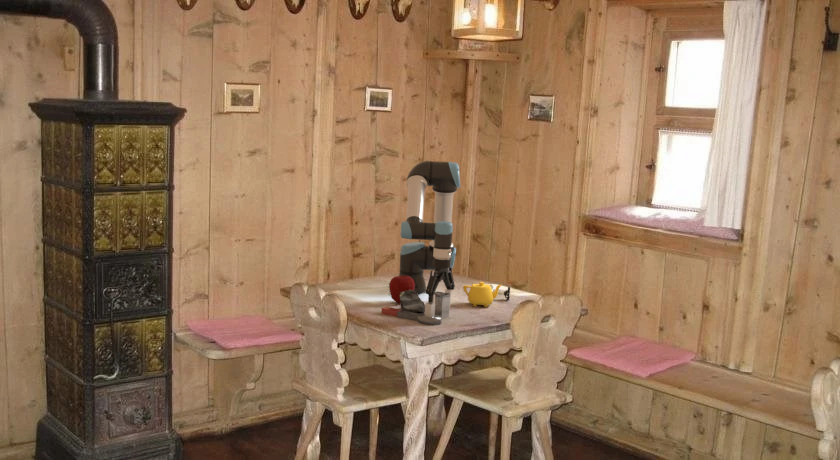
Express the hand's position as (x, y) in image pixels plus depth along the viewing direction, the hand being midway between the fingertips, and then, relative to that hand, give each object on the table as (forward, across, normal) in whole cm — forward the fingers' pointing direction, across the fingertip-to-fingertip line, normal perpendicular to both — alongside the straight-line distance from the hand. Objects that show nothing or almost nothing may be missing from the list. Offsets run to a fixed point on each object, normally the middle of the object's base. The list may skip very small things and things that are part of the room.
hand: (439, 307), depth 361 cm
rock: (+5, 0, +14) cm, 14 cm away
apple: (+4, +10, +26) cm, 28 cm away
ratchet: (+4, -11, +7) cm, 14 cm away
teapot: (+4, +33, -3) cm, 33 cm away
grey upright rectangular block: (+4, 0, 0) cm, 4 cm away
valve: (+5, +49, -2) cm, 49 cm away
